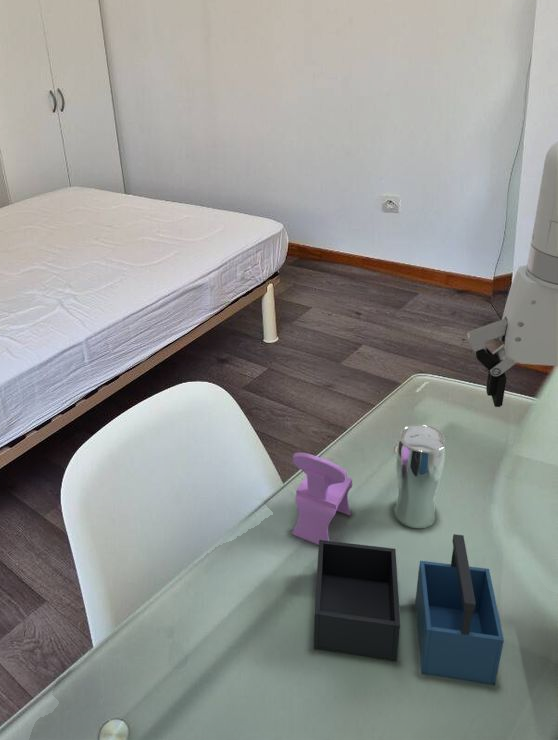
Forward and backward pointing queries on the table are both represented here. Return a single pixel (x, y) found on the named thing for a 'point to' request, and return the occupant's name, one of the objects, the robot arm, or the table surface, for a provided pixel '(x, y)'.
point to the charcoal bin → (357, 600)
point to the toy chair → (319, 496)
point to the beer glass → (418, 473)
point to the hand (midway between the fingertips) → (542, 403)
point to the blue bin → (458, 619)
